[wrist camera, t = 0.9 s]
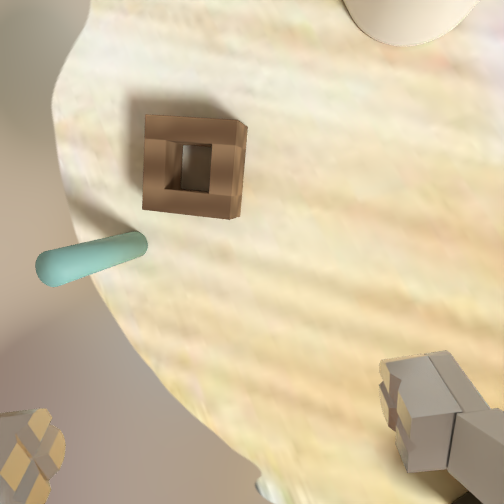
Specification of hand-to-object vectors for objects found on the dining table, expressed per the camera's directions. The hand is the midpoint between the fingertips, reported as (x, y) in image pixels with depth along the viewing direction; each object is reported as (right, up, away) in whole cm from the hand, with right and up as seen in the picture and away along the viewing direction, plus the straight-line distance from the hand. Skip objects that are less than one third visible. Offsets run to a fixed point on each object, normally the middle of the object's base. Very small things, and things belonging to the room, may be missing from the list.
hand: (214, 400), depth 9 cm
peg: (-15, +5, +43) cm, 45 cm away
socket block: (-5, +14, +39) cm, 42 cm away
